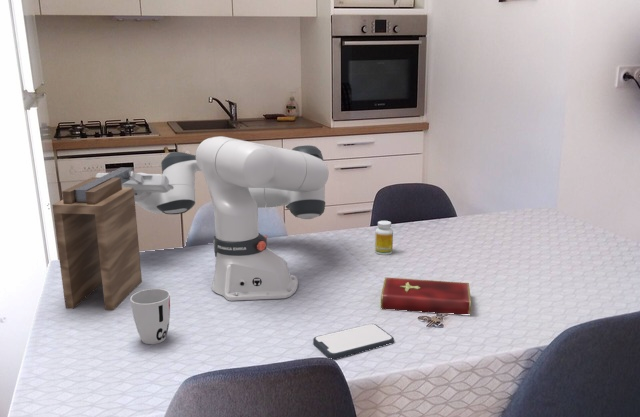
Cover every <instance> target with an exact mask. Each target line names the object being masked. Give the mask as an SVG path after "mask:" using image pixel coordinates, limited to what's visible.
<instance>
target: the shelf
mask: <svg viewBox="0 0 640 417" xmlns="http://www.w3.org/2000/svg"><path fill="white" fill-rule="evenodd" d="M98 178H100V177H96V176H93V177H90V178H88V179H86V180H83V181H81V182H79V183H77V184H75V185H73V186H70V187H69V188H67V189H64V190H62V193H61V194H62V200H60V201H58V202H56V203H55V202H54V203H53V204H52V212H53V213H52V214H53V220H54V227H55V237H56V243H57V251H58V260H59V268H60V275H61V283H62V284H61V285H62V290H63V296H64V306H65V307H64V308H65V309H71V310H72V309H75V308H76V307H77V306H78V305H80V304H81V303H82V302H83V301H84V300H86V299H87V298H88V296H90V295H91V294H92V293H93V292H94V291H96V290H97V289H98V288H99V287H101V286H102V292H103V293H102V294H103V301H104V309H105V311H114V310H115V309H116V308H117V307H118V306H119V305H120V304H121V303H122V302H123V301H125V299H126V298H127V297H128V296H129V295H130V294H131V293H132V292H134V290H135V289H136V288H137V287H138V286H139V285H140V284H141V283H142V282H143V278H142V266H141V256H140V247H139V246H140V244H139V233H138V232H139V231H138V220H137V212H136V211H137V210H136V203H135V198H134V188H124V187H122V183H121V178H112V179H110V180H108V181H106V182H104V183H102V184H100V185H98V186H96V187H94V188H92V189H90V190H88V191H86V192H85V193H86V202H76V199H75V189H77V188H79V187H81V186H83V185H85V184H88V183H90V182H92V181H94V180H96V179H98Z"/></svg>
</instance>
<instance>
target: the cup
mask: <svg viewBox="0 0 640 417" xmlns="http://www.w3.org/2000/svg"><path fill="white" fill-rule="evenodd" d="M130 306H131V311H132V316H133V320H134V323H135V324H134V325H135V327H136V330H137V333H138V335H139V338H140V339H141V341H142V343H144V345H145V344H146V345H157V344H160V343H162V342H164V341H165V340H166V339H167V336H168V330H169V327H170V318H171V293H170V292H169V290H167V289H164V288H162V289H161V288H148V289H143V290H140V291H137V292H135V293H133V294H132V295H131V296H130Z"/></svg>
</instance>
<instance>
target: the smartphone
mask: <svg viewBox="0 0 640 417" xmlns="http://www.w3.org/2000/svg"><path fill="white" fill-rule="evenodd" d="M312 341H313V345H314V347H316V349H318V351H320V352H321V353H322V354H323V355H324V356H325V357H326V358H328V359H329V358H332V359H331V360H333V359H334V360H338V359H337V358H339V359H341V358H340V357H342V358H345V357H344V356H346V357H349V356H348V355H350V356H352V355H351V354H354V355H357V354H360V353H359V352H361V353H363V352H362V351H364V352H366V351H365V350H368V351H370V350H369V349H371V350H374V349H373V348H375V349H377V348H376V347H379V346H382V347H384V346H383V345H386V344H389V343H392V344H394V342H395V340H394V336H392V335H391V334H390V333H388V332H387V331H385V329H383V328H381V327H380V326H378V324H376V323H368V324H363V325H359V326H355V327H352V328H351V327H350V328H347V329H343V330H338V331H334V332H329V333H325V334H321V335H317V336H315V337H313V340H312ZM393 341H394V342H393ZM389 345H390V344H389ZM386 346H387V345H386ZM379 348H380V347H379ZM356 353H357V354H356Z"/></svg>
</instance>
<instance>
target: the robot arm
mask: <svg viewBox="0 0 640 417" xmlns="http://www.w3.org/2000/svg"><path fill="white" fill-rule="evenodd" d="M160 165H161V173H159V174H158V173H145V172H137V173H136V172H135V171H132V172H128V173H127V174H128V175H127V178H128V179H130V180H129V181H127V182H125V183H123V184H122V187H124V188H134V198H135V205H138V206H139V207H140V208H142V209H143V210H145V211H147V212H150V213H153V214H166V215H181V214H182V215H183V214H186V213H187V212H188V211H190V210H191V209H192V208H193V207H194V206H195V205H196V175H195V174H196V172H201V173H202V174H203V176H204V179H205V182H206V185H207V188H208V191H209V194H210V198H211V201H212V202H211V203H212V206H213V214H214V228H215V230H214V231H215V235H214V236H213V237H214V238H213V251H214V256H215V265H214V266H215V268H214V269H215V270H214V277H213V282H212V286H211V289H212V291H213V292H214V293H216V294H218V295H220V296H222V297H224V298H225V300H227V301H230V302H231V301H232V302H233V301H254V300H256V301H257V300H276V299H277V300H278V299H287V298H289V297H292V296H293V295H294V294H295V293H296V291H297V290H298V287H299V282H298V278H297V276H295V275H294V274H290V271H289V266H288V263H287V261H286V260H285V259H284V258H283V257H282V256H280V255H278V254H276V253H275V252H274V251H273V250H271V249H270V248H268V242H267V240H268V238H267V237H268V236H267V234H265V235H262V234H261V233H260V232H259V231H260V230H259V228H260V227H259V209H265V208H267V209H268V208H278V207H283V206H285V208H286V209H287V210H289V211H290V214H292V215H293V216H294V217H295V218H298V219H301V220H312V219H315V218H318V217H320V216H322V215H323V214H324V212H325V210H326V209H325V208H326V201H325V200H326V199H325V198H326V184H327V182H328V180H329V168H328V165H327V164H326V162H325V161H324V157H323V153H322V151H321V150H320V148H318V147H317V146H315V145H310V144H301V145H298V146H295V147H293V148H292V149H290V148H285V147H278V146H273V145H269V144H267V145H266V144H262V143H257V142H251V141H247V140H243V139H238V138H234V137H233V138H232V137H227V136H222V135H221V136H212V137H209V138H206V139H204V140H203V141H201V142H200V144H199V145H198V147H197V148H196V152H195V154H191V153H186V152H182V151H181V152H180V151H173V152H172V151H171V152H169V153H168V154H167V155H166V156H165V157H164V158H163V159H162V160H161V163H160ZM113 171H114V170H113ZM113 171H111V172H113ZM108 173H109V172H98V173H96V174H95V177H102V176H104V175H106V174H108Z"/></svg>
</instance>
